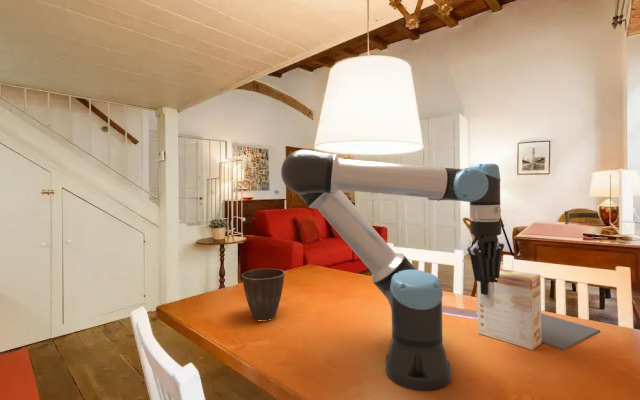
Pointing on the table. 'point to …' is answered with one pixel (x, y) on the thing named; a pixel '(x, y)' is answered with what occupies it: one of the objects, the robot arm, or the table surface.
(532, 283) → the coffeecake box
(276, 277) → the plant pot
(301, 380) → the table surface
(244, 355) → the table surface
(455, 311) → the mobile phone
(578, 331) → the placemat
